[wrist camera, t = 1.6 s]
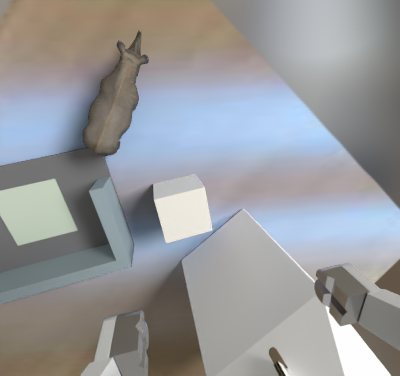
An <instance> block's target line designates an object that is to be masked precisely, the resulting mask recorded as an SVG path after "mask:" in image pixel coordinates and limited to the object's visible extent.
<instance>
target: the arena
mask: <svg viewBox="0 0 400 376" xmlns="http://www.w3.org/2000/svg"><path fill="white" fill-rule="evenodd" d="M133 252H134V242H133V239H132V236H131V234H130V231H129V228H128V225H127V222H126V219H125V216H124V213H123V210H122V208H121V205H120V202H119V199H118V196H117V193H116V190H115V187H114V184H113V182H112V179H111V176H110V173H109V170H108V167H107V164H106V161H105V158H104V156H102V155H100V154H94V151H93V150H90V149H88V148H85V149H80V150H75V151H70V152H65V153H60V154H56V155H51V156H46V157H41V158H36V159H31V160H27V161H22V162H17V163H12V164H7V165H2V166H0V304H3V303H7V302H10V301H14V300H17V299H21V298H24V297H28V296H31V295H35V294H38V293H42V292H45V291H49V290H52V289H56V288H59V287H62V286H66V285H69V284H73V283H76V282H80V281H83V280H87V279H90V278H94V277H97V276H101V275H104V274H108V273H111V272H114V271H118V270H121V269H125V268H128V267H132V260H133Z"/></svg>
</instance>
